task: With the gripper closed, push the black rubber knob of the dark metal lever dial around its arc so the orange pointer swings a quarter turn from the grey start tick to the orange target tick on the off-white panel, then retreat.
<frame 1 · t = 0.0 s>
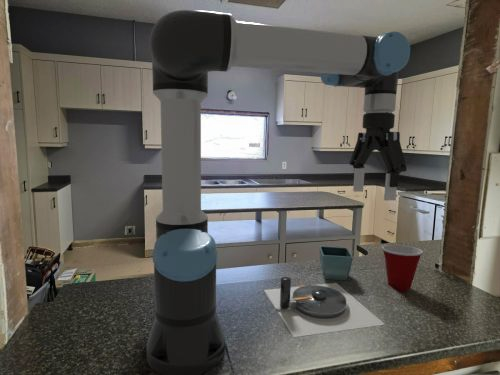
hand: (372, 195, 85), 28 cm above the countertop, fingers open, 13 cm apart
dial: (312, 290, 80), point 5 cm above the countertop, hinge at 0.0°
panel: (318, 310, 81), on the countertop
plastic cup: (398, 287, 95), on the countertop
flower pot: (333, 279, 100), on the countertop
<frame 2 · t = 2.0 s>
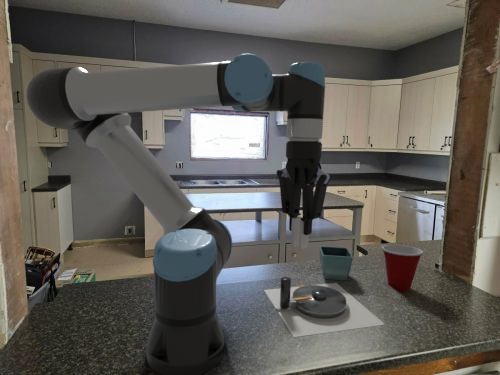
hand: (299, 246, 72), 18 cm above the countertop, fingers closed
nothing on the countertop moved.
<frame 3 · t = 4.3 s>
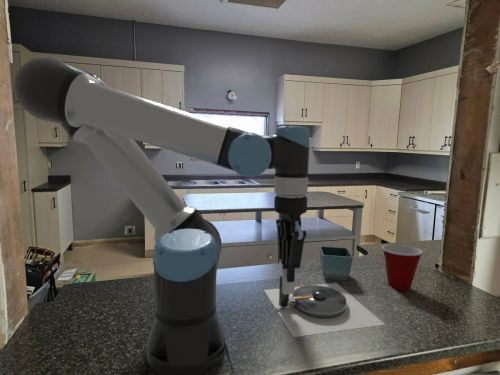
hand: (288, 292, 77), 6 cm above the countertop, fingers closed
dial: (312, 290, 80), point 5 cm above the countertop, hinge at 5.6°, touching gripper
everything else where it was.
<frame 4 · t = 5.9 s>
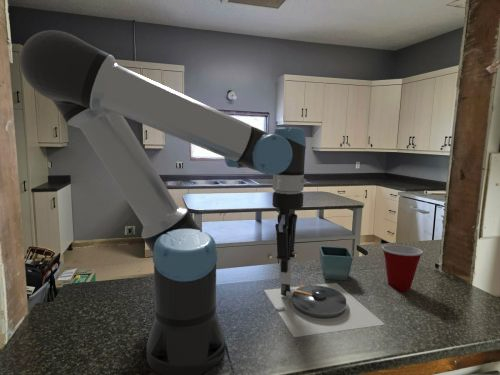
hand: (284, 282, 83), 6 cm above the countertop, fingers closed
dial: (312, 288, 81), point 5 cm above the countertop, hinge at 42.8°, touching gripper
everything else where it was.
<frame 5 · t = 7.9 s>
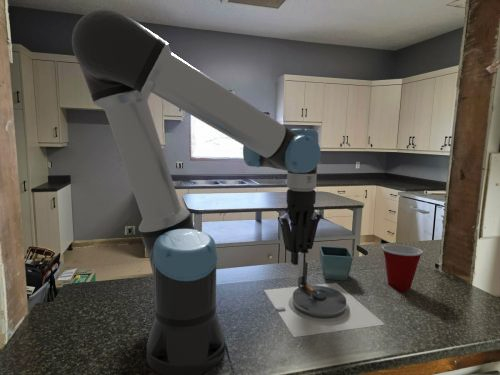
hand: (297, 275, 88), 6 cm above the countertop, fingers closed
dial: (315, 287, 82), point 5 cm above the countertop, hinge at 86.1°, touching gripper
everything else where it was.
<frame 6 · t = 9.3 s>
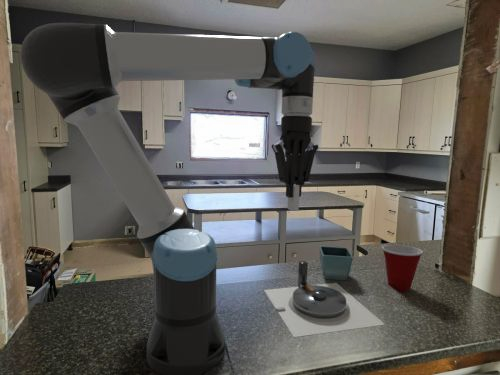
hand: (292, 209, 83), 24 cm above the countertop, fingers closed
dial: (315, 287, 82), point 5 cm above the countertop, hinge at 86.1°
everything else where it was.
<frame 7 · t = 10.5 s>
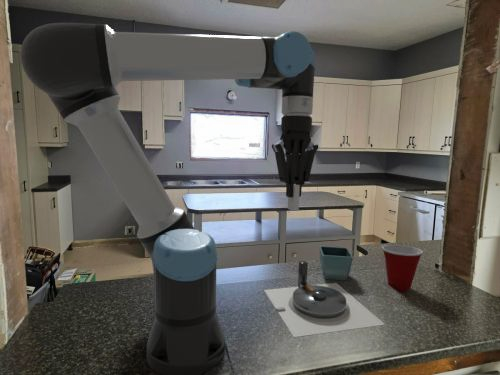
hand: (293, 209, 83), 24 cm above the countertop, fingers closed
nothing on the countertop moved.
at the end: dial at +86° (first picture: +0°); dial touching nothing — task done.
